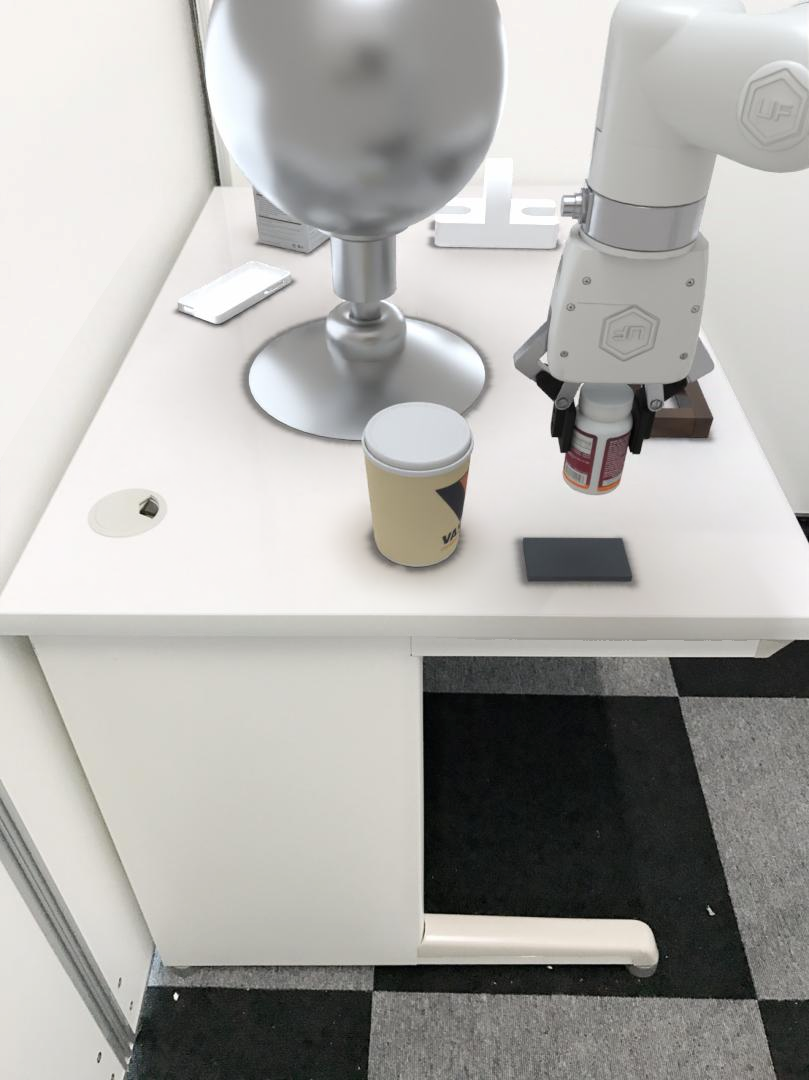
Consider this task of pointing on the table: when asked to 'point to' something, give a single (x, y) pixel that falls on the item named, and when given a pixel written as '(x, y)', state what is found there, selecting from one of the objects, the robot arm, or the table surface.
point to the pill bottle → (599, 438)
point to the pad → (576, 559)
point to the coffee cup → (417, 480)
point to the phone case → (234, 292)
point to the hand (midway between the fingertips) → (597, 441)
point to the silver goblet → (358, 179)
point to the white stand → (497, 216)
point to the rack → (683, 414)
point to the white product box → (284, 228)
